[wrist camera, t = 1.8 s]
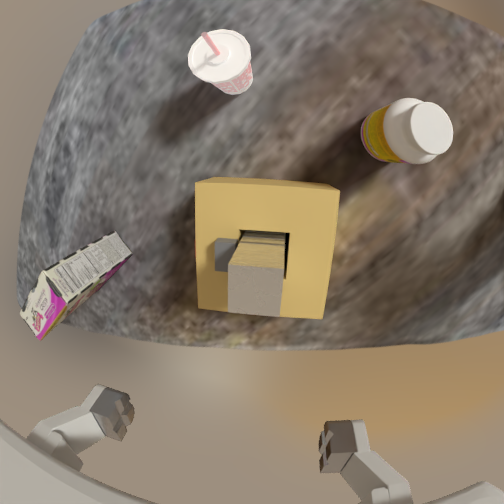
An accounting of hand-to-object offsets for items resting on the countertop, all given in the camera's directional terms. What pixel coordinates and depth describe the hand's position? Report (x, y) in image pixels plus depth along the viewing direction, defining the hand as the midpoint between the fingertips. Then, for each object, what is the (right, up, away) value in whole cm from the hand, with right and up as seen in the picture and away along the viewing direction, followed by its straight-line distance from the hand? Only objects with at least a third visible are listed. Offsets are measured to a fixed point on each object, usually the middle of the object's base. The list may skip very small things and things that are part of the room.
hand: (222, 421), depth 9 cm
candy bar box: (-22, +5, +31) cm, 38 cm away
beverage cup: (-1, +28, +20) cm, 35 cm away
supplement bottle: (+18, +21, +20) cm, 34 cm away
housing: (+3, +9, +26) cm, 28 cm away
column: (+3, +9, +26) cm, 28 cm away
